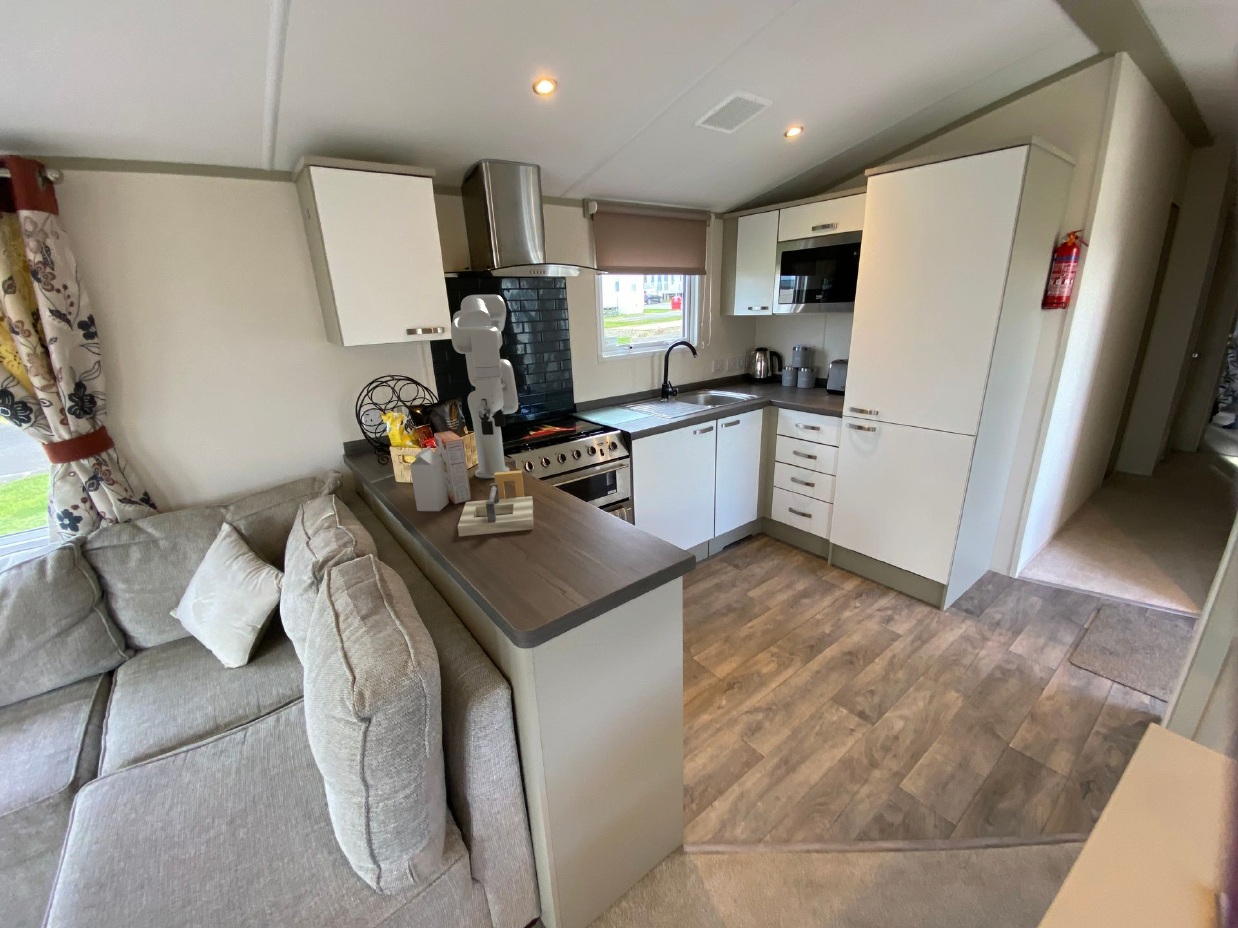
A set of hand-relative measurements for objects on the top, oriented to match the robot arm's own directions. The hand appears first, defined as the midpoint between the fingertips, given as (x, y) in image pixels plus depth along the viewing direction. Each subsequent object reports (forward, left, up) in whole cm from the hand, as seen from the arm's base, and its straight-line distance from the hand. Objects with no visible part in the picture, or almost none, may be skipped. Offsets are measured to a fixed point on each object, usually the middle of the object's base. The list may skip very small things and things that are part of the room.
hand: (494, 430), depth 147 cm
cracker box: (-12, -16, -25) cm, 32 cm away
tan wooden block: (-4, +2, -24) cm, 25 cm away
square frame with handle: (+11, -2, -24) cm, 27 cm away
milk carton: (-4, -22, -25) cm, 33 cm away
